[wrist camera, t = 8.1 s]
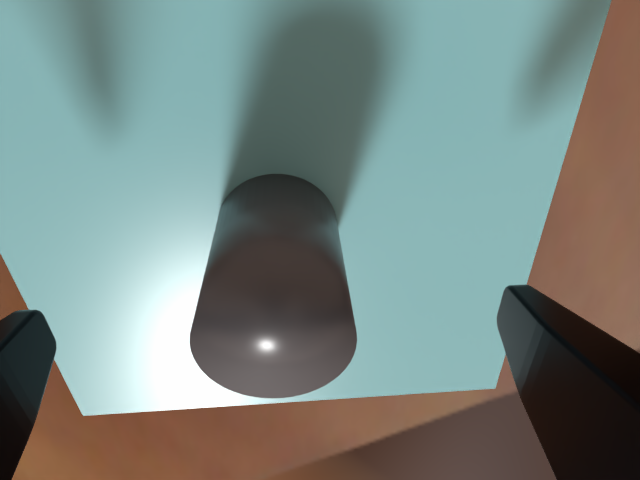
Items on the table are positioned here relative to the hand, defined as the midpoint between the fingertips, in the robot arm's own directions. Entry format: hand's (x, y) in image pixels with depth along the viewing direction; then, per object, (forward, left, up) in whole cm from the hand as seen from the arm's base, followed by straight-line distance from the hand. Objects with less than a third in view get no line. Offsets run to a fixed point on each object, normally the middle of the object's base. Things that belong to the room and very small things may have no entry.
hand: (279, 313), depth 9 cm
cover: (0, 0, -4) cm, 4 cm away
